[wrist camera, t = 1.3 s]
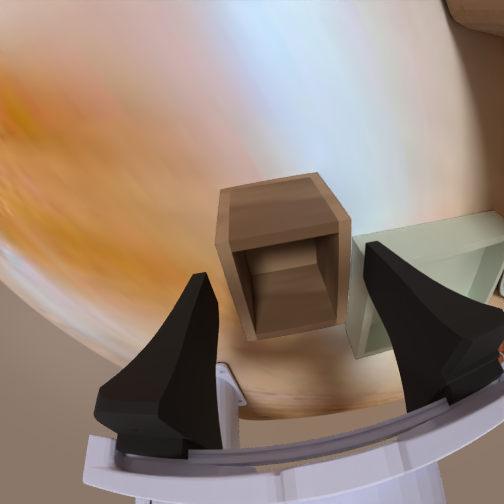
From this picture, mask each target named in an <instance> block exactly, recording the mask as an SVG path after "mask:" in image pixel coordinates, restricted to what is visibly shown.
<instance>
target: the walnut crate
mask: <svg viewBox="0 0 504 504" xmlns="http://www.w3.org/2000/svg"><path fill="white" fill-rule="evenodd" d="M215 246H216V249H217V252H218V256H219V259H220V262H221V265H222V268H223V271H224V274H225V277H226V280H227V283H228V286H229V289H230V292H231V295H232V298H233V301H234V304H235V307H236V310H237V313H238V316H239V319H240V322H241V325H242V328H243V330H244V333H245V336H246V339H247V342H249V341H256V340H262V339H268V338H274V337H280V336H286V335H291V334H296V333H302V332H307V331H312V330H317V329H321V328H326V327H331V326H335V325H340V324H344V323H346V316H347V305H348V292H349V277H350V257H351V218H350V216H349V215H348V213H347V212H346V210H345V209H344V208H343V206H342V205H341V203H340V202H339V201H338V199H337V198H336V197H335V195H334V194H333V192H332V191H331V190H330V188H329V187H328V186H327V184H326V183H325V182H324V180H323V179H322V178H321V176H320V175H319V174H318V173H317V172H315V173H308V174H302V175H296V176H290V177H284V178H278V179H272V180H267V181H261V182H256V183H250V184H245V185H240V186H235V187H230V188H225V189H221V190H220V197H219V207H218V216H217V226H216V236H215Z"/></svg>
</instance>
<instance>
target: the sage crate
mask: <svg viewBox="0 0 504 504" xmlns="http://www.w3.org/2000/svg"><path fill="white" fill-rule="evenodd" d="M372 241H379V242H380V243H382V244H383V245H385V246H386V247H387V248H389V249H390V250H391V251H393V252H394V253H395V254H397V255H398V256H399V257H401V258H402V259H404V260H405V261H406V262H408V263H409V264H410V265H412V266H413V267H415V268H416V269H418V270H419V271H421V272H422V273H424V274H425V275H427V276H428V277H430V278H431V279H433V280H435V281H436V282H438V283H440V284H442V285H443V286H445V287H447V288H449V289H451V290H453V291H455V292H457V293H459V294H461V295H463V296H466V297H468V298H470V299H473V300H475V301H478V302H481V303H483V304H488V302H489V300H490V298H491V296H492V294H493V292H494V290H495V288H496V285H497V283H498V281H499V279H500V276H501V274H502V272H503V269H504V218H503V217H502V216H501V215H500V214H498V213H497V212H496V211H495V210H492V211H487V212H482V213H476V214H471V215H466V216H461V217H456V218H450V219H445V220H440V221H435V222H429V223H424V224H419V225H413V226H408V227H403V228H398V229H392V230H387V231H382V232H376V233H371V234H366V235H360V236H355V237H352V258H351V277H350V291H349V303H348V314H347V324H346V332H347V335H348V338H349V341H350V344H351V347H352V350H353V353H354V356H355V359H360V358H364V357H368V356H371V355H375V354H378V353H382V352H385V351H388V350H392V349H393V347H392V344H391V341H390V338H389V336H388V333H387V331H386V329H385V327H384V325H383V323H382V321H381V318H380V316H379V314H378V312H377V310H376V308H375V306H374V304H373V302H372V300H371V298H370V296H369V293H368V291H367V288H366V285H365V282H364V279H363V267H364V256H365V243H367V242H372Z"/></svg>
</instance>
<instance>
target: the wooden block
mask: <svg viewBox="0 0 504 504" xmlns="http://www.w3.org/2000/svg"><path fill="white" fill-rule="evenodd" d="M446 2H447V5H448V9H449V12H450V14H451V15H452V17H453V19H454V20H455V21H456V22H457V23H459V24H461V25H463V26H465V27H467V28H469V29H472V30H477V31H481V32H486V33H490V34H494V35H497V36H501V37H504V0H446Z"/></svg>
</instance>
